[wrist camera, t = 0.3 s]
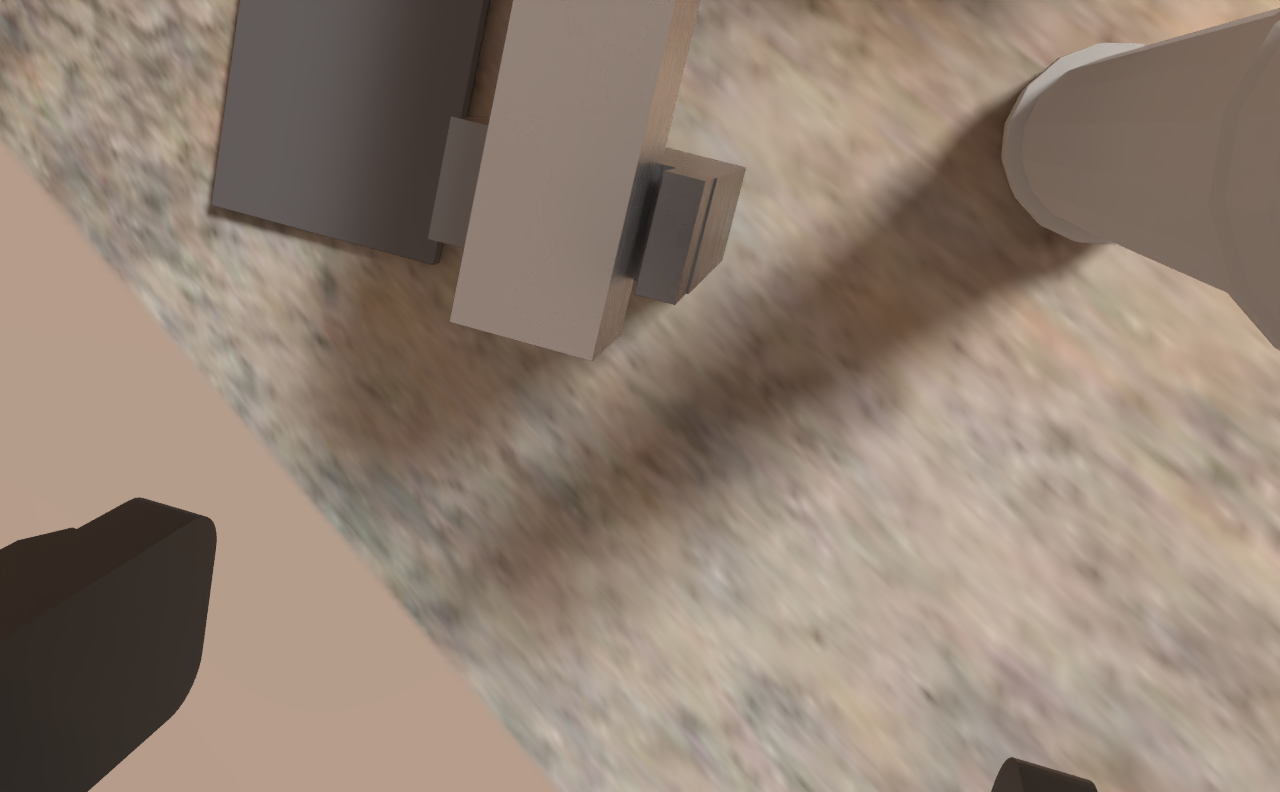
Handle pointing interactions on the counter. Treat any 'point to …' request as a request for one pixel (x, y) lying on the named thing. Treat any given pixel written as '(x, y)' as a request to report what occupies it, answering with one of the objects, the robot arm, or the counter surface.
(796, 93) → the counter surface
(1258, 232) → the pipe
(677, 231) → the post
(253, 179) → the mat
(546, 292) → the rail
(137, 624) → the robot arm
